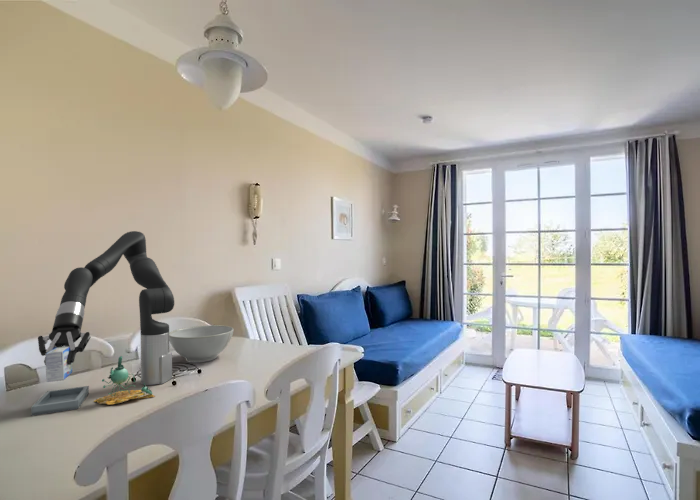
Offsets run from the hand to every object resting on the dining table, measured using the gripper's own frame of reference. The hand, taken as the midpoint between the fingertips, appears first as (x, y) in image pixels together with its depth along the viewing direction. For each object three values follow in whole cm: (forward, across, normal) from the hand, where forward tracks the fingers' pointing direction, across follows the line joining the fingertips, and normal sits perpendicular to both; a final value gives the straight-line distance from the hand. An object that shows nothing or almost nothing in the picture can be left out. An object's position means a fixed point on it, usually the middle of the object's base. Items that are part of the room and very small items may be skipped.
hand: (58, 364), depth 115 cm
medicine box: (+3, 0, -4) cm, 5 cm away
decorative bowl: (-17, -42, -36) cm, 58 cm away
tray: (+8, -1, -10) cm, 13 cm away
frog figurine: (+12, -17, -6) cm, 22 cm away
